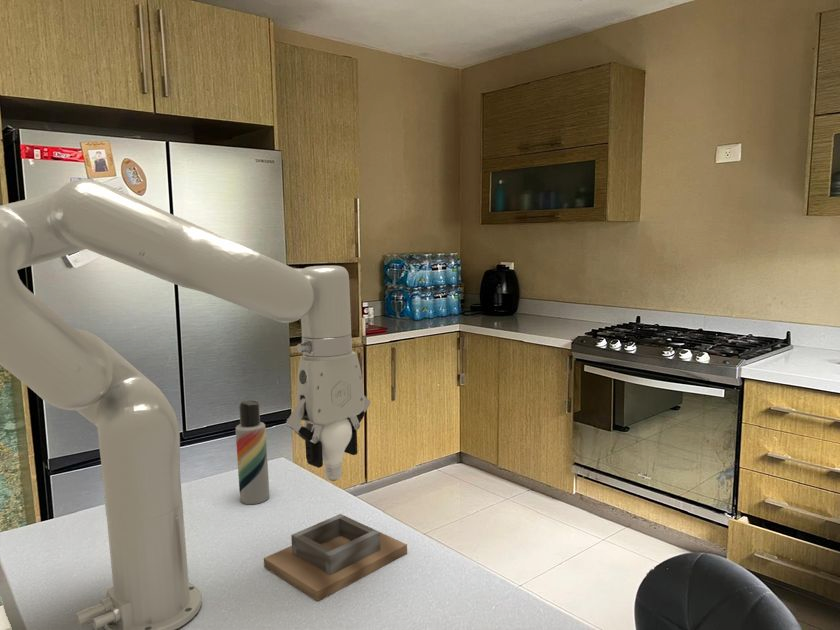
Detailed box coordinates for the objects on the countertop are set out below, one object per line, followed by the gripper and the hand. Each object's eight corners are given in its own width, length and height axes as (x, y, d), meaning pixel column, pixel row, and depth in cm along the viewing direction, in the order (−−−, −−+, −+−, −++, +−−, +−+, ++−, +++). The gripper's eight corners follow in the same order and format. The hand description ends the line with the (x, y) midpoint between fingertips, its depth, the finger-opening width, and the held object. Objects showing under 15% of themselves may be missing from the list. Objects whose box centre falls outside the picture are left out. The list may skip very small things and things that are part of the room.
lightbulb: (357, 472, 101) (354, 406, 100) (349, 488, 95) (346, 418, 94) (319, 472, 102) (316, 406, 100) (308, 487, 96) (305, 418, 94)
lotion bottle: (239, 495, 126) (233, 399, 124) (268, 491, 128) (263, 396, 125) (240, 506, 121) (234, 406, 118) (270, 502, 122) (264, 403, 120)
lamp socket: (317, 601, 89) (316, 571, 88) (264, 567, 98) (262, 540, 98) (407, 553, 102) (406, 527, 101) (351, 526, 111) (350, 502, 111)
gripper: (294, 358, 87) (301, 481, 89) (385, 340, 99) (389, 449, 101) (264, 352, 92) (272, 469, 94) (354, 336, 104) (359, 440, 107)
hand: (332, 458), depth 98 cm, fingers closed on lightbulb, 6 cm apart
